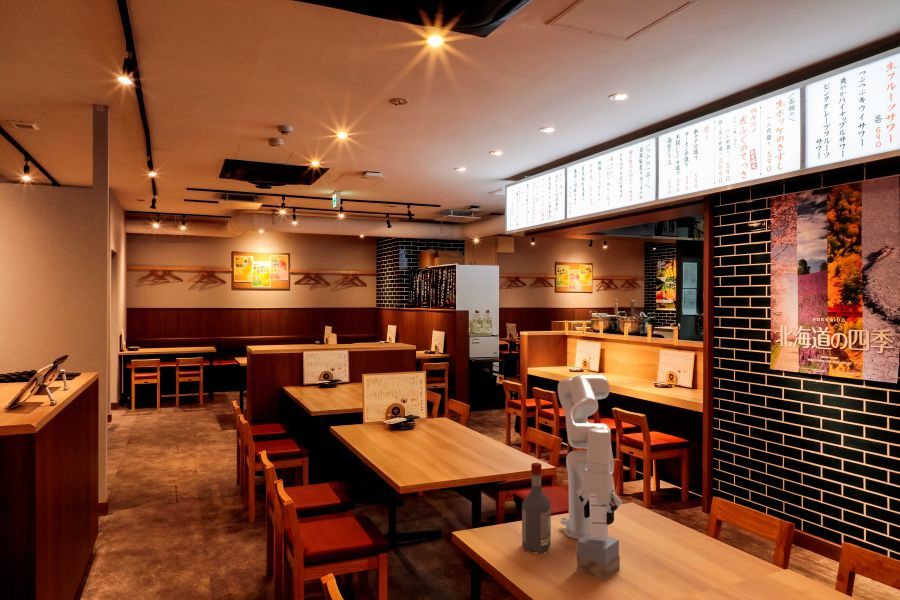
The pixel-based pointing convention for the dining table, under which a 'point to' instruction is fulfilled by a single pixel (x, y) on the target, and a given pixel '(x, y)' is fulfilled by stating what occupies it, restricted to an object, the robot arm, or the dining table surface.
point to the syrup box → (598, 518)
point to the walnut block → (598, 567)
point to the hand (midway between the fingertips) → (598, 519)
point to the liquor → (536, 516)
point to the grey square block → (598, 549)
